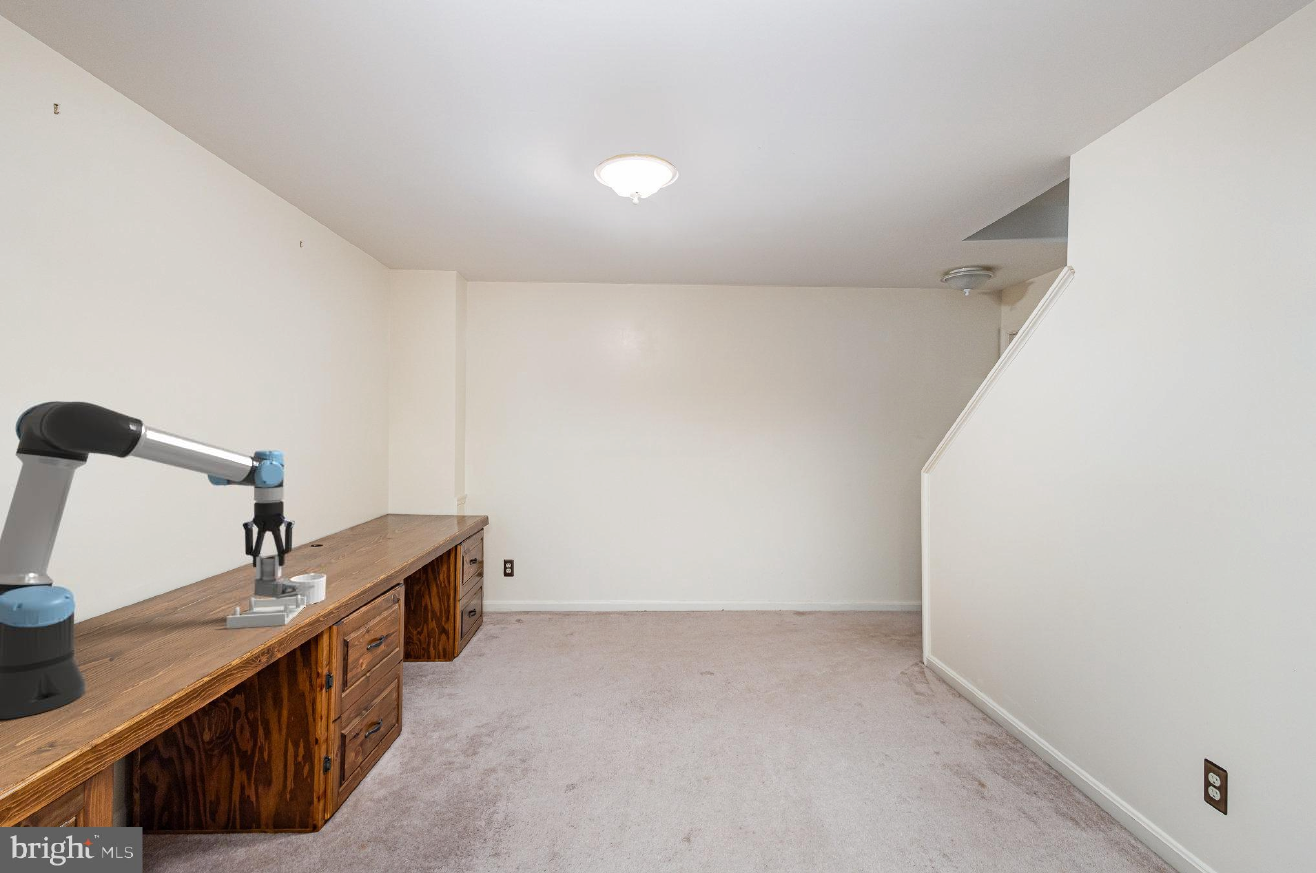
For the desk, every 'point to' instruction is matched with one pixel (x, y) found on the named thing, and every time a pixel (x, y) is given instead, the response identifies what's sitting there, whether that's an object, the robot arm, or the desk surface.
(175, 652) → the desk surface
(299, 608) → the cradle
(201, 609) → the desk surface
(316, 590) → the mug
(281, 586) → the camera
